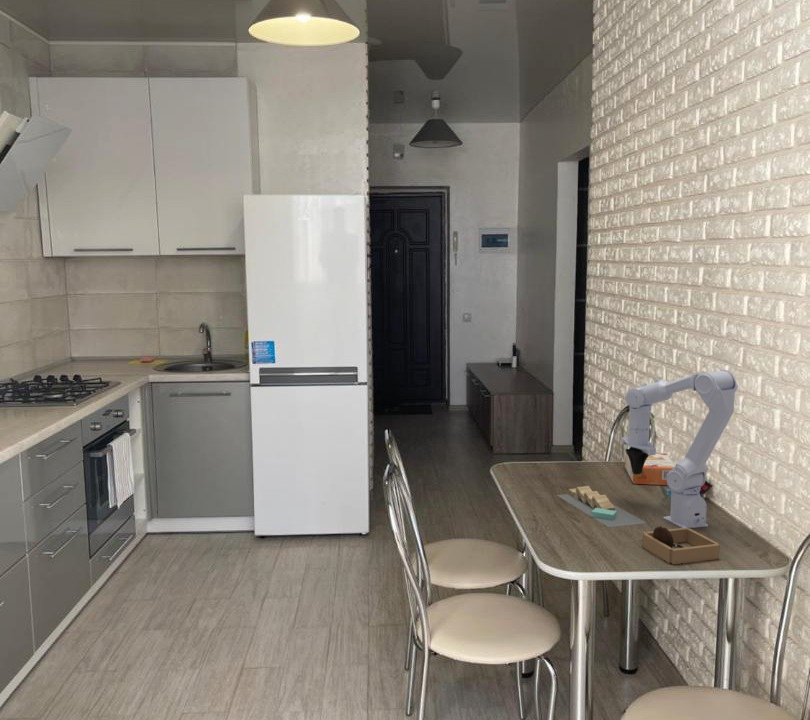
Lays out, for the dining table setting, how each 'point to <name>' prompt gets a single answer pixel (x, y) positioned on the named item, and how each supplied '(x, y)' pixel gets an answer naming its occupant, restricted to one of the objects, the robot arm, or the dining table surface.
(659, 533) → the dark brown rounded piece
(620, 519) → the board and tray
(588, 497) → the tan wooden block
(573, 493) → the tile
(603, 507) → the tile
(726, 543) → the dining table surface
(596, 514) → the tile
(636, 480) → the cracker box
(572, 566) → the dining table surface
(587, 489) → the tile
